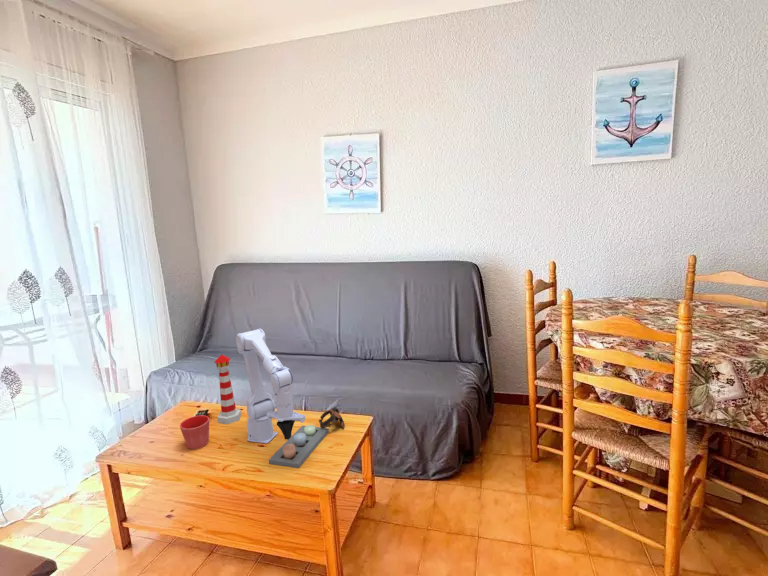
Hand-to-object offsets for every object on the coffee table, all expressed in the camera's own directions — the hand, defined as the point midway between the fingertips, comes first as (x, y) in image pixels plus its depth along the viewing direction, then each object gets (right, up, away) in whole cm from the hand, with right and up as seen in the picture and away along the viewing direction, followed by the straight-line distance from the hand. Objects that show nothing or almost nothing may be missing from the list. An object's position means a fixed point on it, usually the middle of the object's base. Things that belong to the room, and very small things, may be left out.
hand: (288, 438), depth 150 cm
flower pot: (-39, -8, +15) cm, 43 cm away
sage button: (+5, -5, +16) cm, 18 cm away
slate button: (+3, -5, +9) cm, 10 cm away
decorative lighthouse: (-34, -4, +35) cm, 49 cm away
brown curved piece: (+14, -4, +23) cm, 27 cm away
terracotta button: (0, -7, +1) cm, 7 cm away
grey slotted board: (+3, -7, +9) cm, 11 cm away
